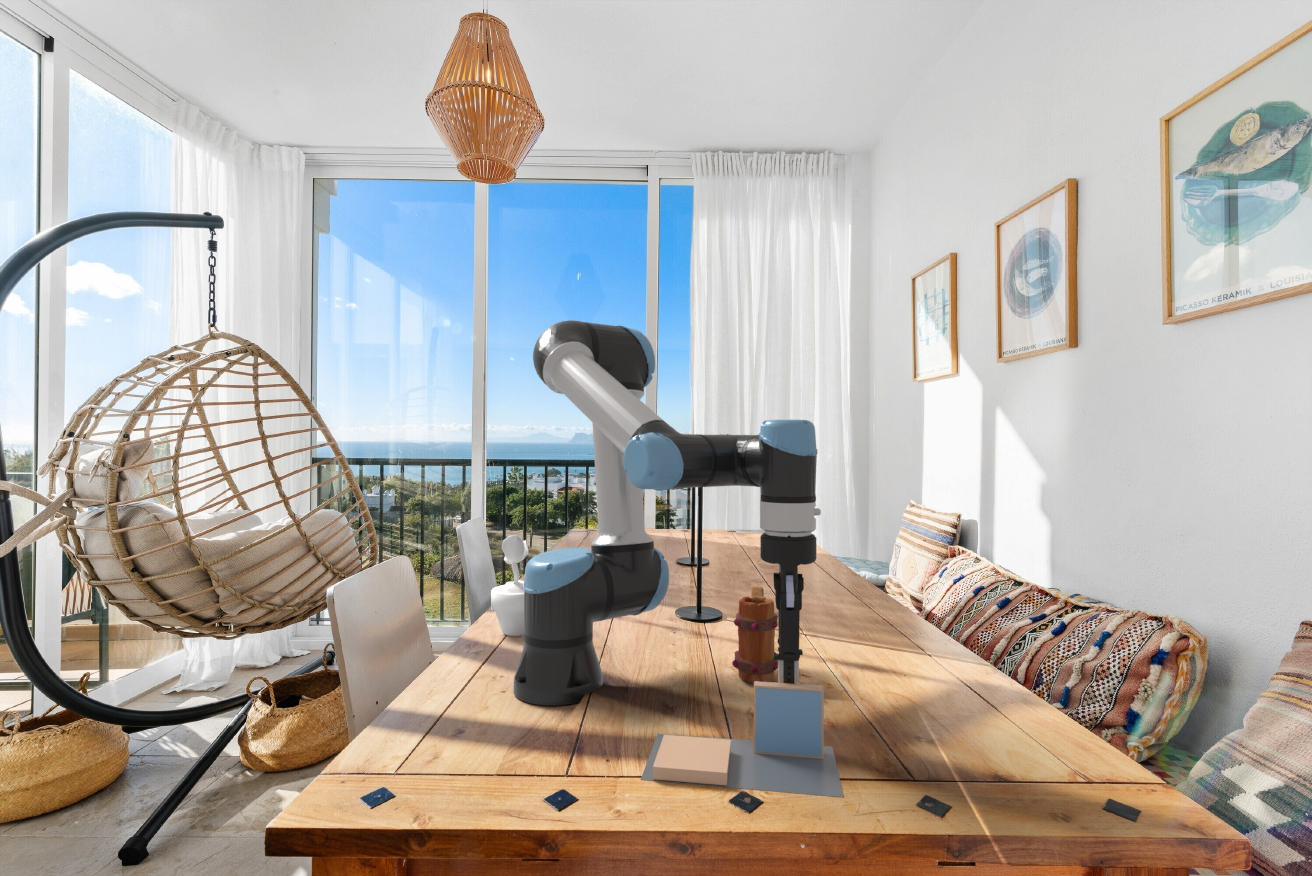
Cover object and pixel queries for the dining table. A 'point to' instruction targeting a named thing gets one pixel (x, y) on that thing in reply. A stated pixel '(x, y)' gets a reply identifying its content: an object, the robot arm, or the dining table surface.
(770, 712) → the tile right
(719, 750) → the tile left
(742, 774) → the slate board
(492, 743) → the dining table surface
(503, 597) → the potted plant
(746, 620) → the mug
